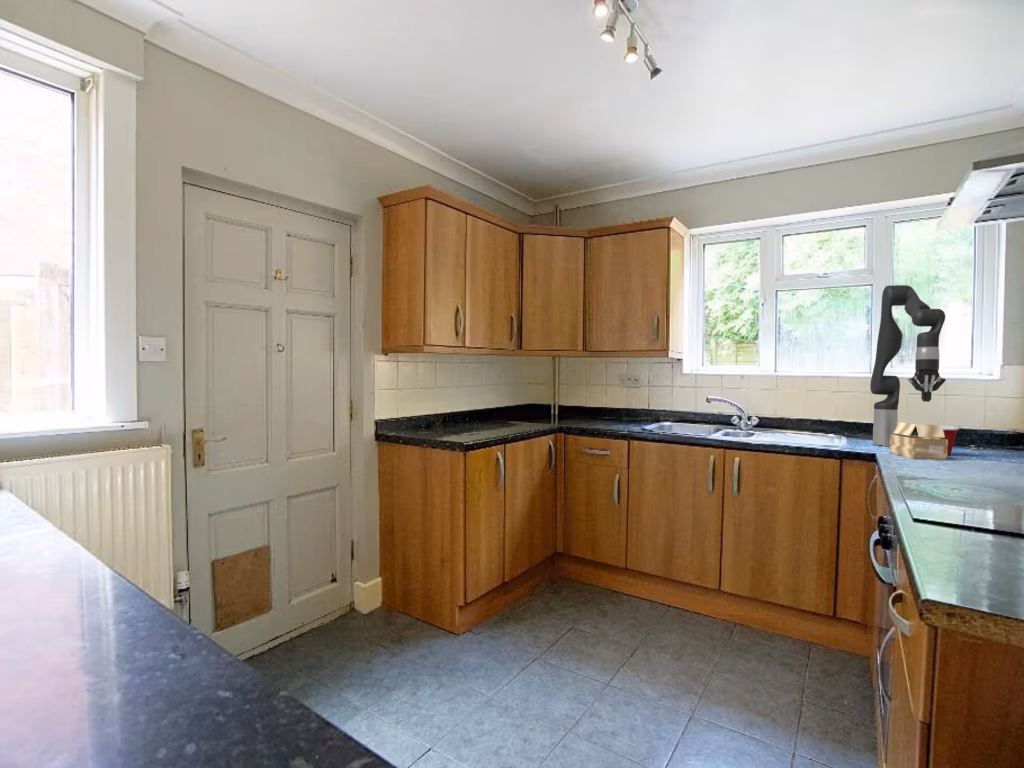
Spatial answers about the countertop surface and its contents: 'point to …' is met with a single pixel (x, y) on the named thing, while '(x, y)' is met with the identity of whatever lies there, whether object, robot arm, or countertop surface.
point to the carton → (919, 447)
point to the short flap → (930, 431)
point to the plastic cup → (949, 436)
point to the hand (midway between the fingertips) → (926, 401)
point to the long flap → (904, 428)
